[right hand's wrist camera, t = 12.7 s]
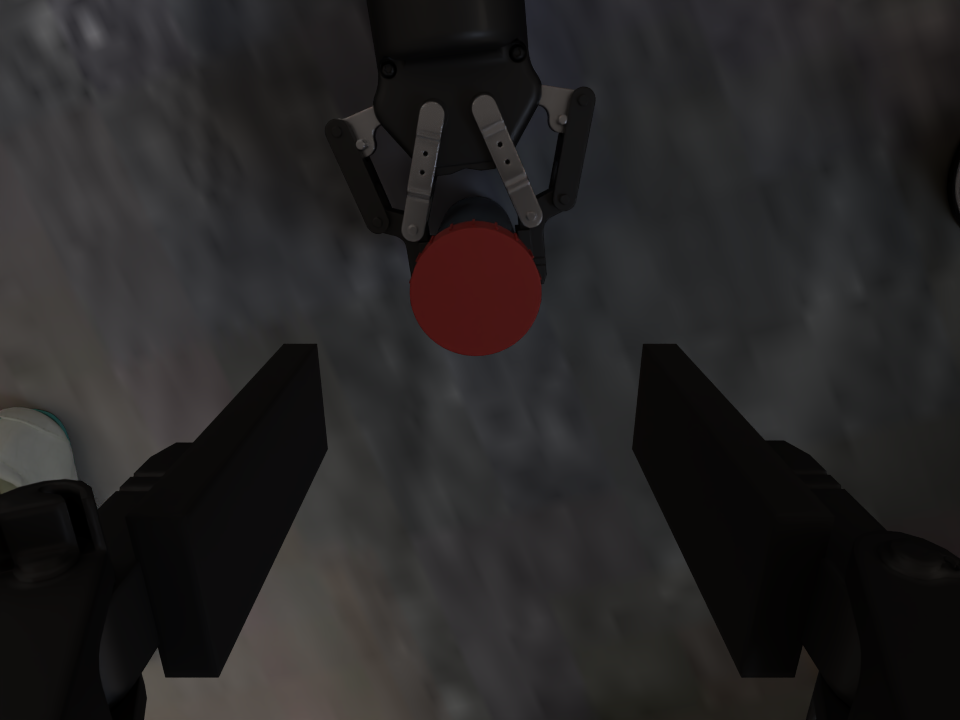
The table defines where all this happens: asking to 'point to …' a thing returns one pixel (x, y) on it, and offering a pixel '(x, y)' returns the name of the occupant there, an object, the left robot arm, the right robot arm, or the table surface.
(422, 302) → the lid
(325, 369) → the table surface
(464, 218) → the jar
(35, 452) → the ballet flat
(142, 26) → the table surface
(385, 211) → the left robot arm
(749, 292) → the table surface
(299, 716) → the table surface
